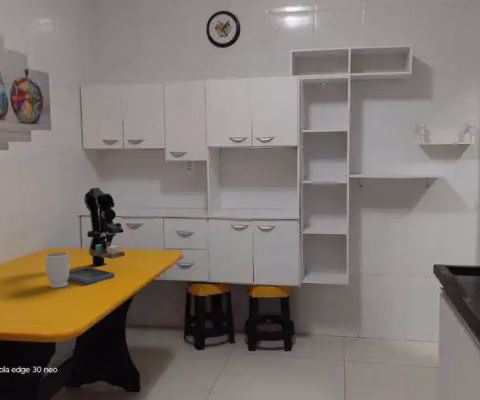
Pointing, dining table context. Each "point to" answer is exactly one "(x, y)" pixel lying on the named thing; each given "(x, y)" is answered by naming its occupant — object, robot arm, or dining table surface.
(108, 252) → the cream block
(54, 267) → the jar
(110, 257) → the caddy
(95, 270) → the tray
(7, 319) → the dining table surface
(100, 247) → the teal block
